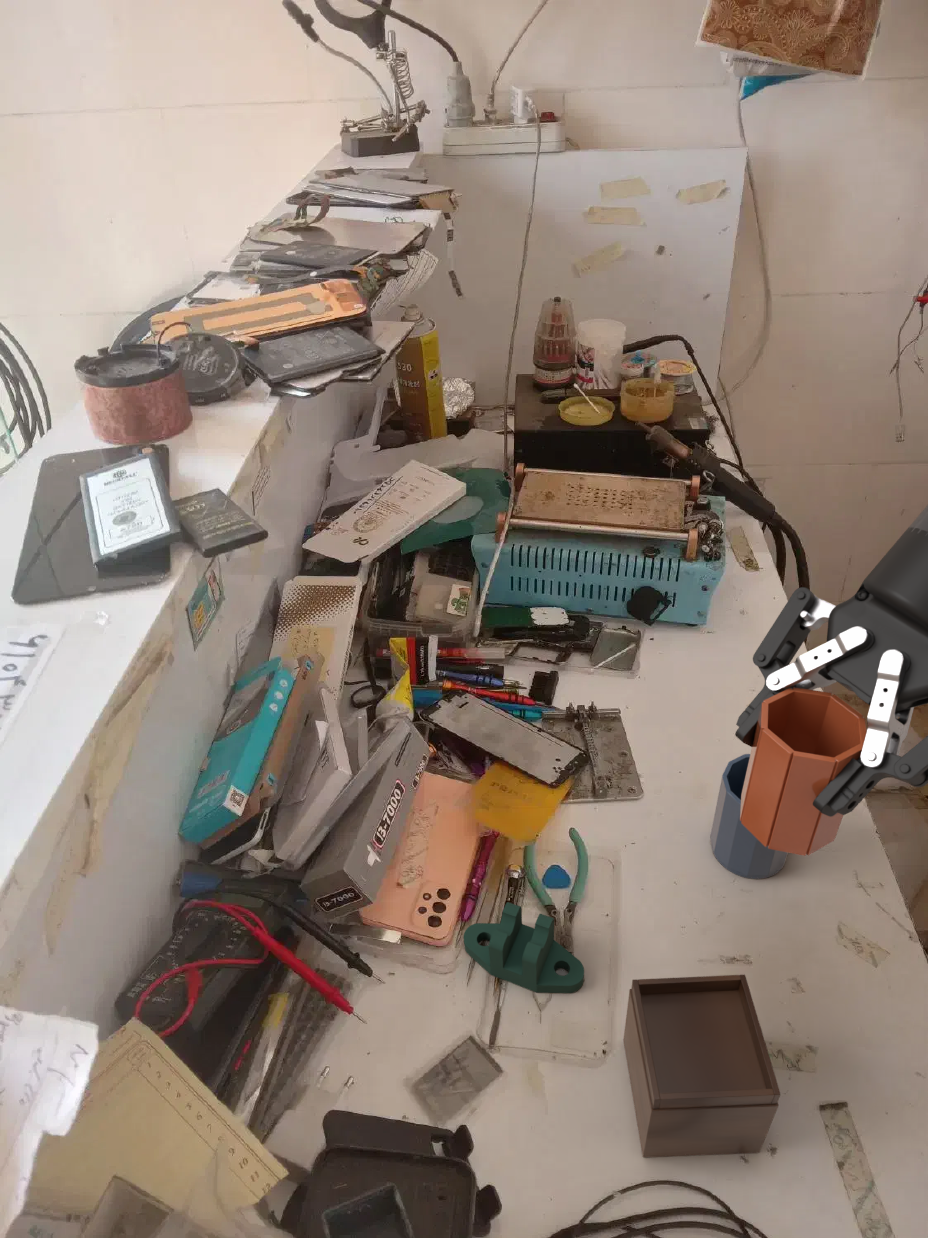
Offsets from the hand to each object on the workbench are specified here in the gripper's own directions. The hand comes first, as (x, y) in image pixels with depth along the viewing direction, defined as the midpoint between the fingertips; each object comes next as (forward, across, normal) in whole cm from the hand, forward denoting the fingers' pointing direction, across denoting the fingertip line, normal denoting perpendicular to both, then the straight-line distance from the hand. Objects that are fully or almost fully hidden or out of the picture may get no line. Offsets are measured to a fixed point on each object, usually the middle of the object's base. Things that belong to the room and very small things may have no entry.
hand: (782, 774), depth 52 cm
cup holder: (+25, +5, +14) cm, 29 cm away
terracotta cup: (+3, 0, +5) cm, 6 cm away
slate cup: (+11, -10, +28) cm, 31 cm away
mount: (+29, -11, +10) cm, 32 cm away
